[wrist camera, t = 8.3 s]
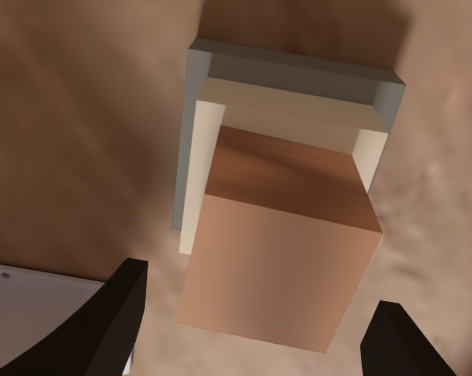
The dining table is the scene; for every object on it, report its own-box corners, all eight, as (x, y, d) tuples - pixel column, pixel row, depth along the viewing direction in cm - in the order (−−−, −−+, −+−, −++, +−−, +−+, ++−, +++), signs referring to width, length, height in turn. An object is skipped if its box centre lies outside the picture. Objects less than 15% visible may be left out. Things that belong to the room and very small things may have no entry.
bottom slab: (181, 198, 25) (171, 228, 22) (198, 34, 21) (188, 48, 18) (338, 223, 25) (346, 256, 23) (389, 66, 21) (406, 85, 18)
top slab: (190, 215, 22) (178, 252, 19) (207, 76, 18) (196, 100, 16) (328, 238, 22) (336, 279, 19) (372, 105, 19) (388, 133, 16)
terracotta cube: (196, 233, 19) (175, 323, 14) (220, 124, 16) (204, 193, 12) (311, 257, 19) (324, 353, 15) (352, 154, 16) (382, 233, 12)
